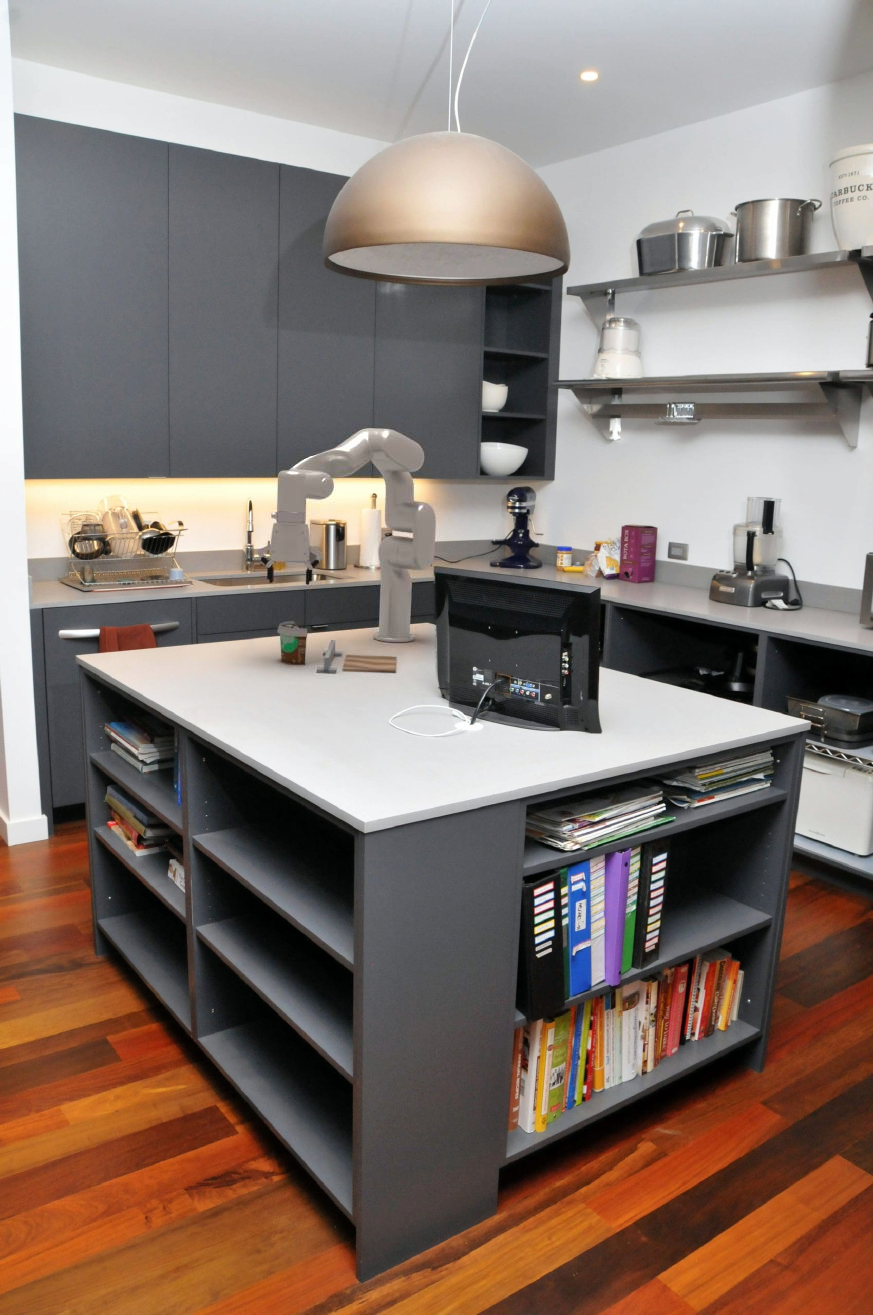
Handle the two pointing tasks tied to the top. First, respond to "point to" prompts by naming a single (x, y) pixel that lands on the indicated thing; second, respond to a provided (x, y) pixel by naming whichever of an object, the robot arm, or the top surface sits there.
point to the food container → (292, 643)
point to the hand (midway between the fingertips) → (289, 583)
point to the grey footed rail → (329, 659)
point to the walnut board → (370, 663)
